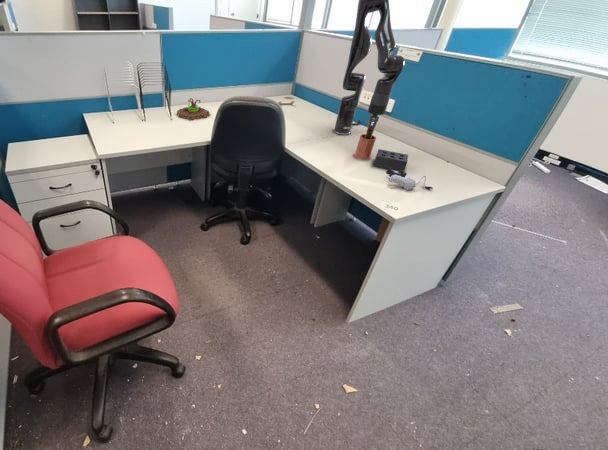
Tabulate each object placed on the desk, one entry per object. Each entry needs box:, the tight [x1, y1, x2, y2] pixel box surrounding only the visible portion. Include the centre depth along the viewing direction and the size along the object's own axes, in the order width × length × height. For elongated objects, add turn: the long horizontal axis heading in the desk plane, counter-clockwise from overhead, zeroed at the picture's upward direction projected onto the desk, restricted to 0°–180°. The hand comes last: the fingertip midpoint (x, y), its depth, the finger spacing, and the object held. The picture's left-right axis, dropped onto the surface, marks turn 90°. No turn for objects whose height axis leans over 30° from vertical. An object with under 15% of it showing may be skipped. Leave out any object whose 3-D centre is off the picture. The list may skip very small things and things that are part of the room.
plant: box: [176, 97, 210, 121], centre depth 219 cm, size 20×20×11 cm
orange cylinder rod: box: [365, 128, 375, 139], centre depth 165 cm, size 3×3×12 cm
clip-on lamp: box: [385, 169, 434, 191], centre depth 145 cm, size 12×6×18 cm
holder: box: [372, 148, 409, 172], centre depth 160 cm, size 10×13×6 cm
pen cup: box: [354, 133, 377, 161], centre depth 167 cm, size 7×7×11 cm
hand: (368, 138), depth 165 cm, fingers closed on orange cylinder rod, 3 cm apart
